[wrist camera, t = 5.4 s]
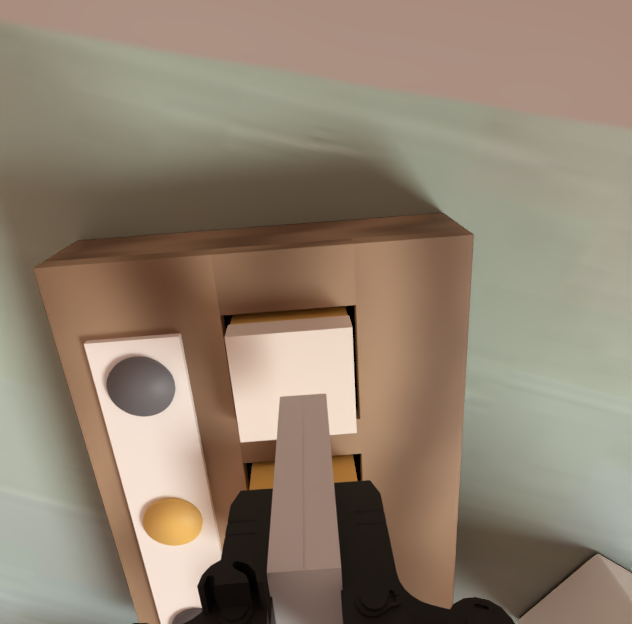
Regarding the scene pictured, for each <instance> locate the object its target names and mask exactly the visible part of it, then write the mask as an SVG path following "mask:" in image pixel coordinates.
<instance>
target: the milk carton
mask: <svg viewBox="0 0 632 624" xmlns="http://www.w3.org/2000/svg"><path fill="white" fill-rule="evenodd" d="M519 624H632V573H631V572H629V571H627V570H626V569H624V568H622V567H620V566H619V565H617V564H615V563H613V562H612V561H610V560H608V559H607V558H605V557H603V556H601V555H599V554H596V555H595V556H593V557H592V558H591V559H590V560H589V561H587V562H586V563H585V564H584V565H583V566H581V567H580V568H579V569H578V570H577V571H575V572H574V573H573V574H572V575H571V576H570V577H568V578H567V579H566V580H565V581H564V582H562V583H561V584H560V585H559V586H558V587H557V588H555V589H554V590H553V591H552V592H551V593H549V594H548V595H547V596H546V597H545V598H544V599H542V600H541V601H540V602H539V603H538V604H536V605H535V606H534V607H533V608H532V609H531V610H529V611H528V612H527V613H526V614H525V615H523V616H522V617H521V618H520V619H519Z"/></svg>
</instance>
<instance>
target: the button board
mask: <svg viewBox="0 0 632 624" xmlns="http://www.w3.org/2000/svg"><path fill="white" fill-rule="evenodd" d="M473 239H474V235H473V234H472V233H471V232H469V231H468V230H466V229H465V228H464V227H462V226H461V225H459V224H458V223H457V222H455V221H454V220H452V219H451V218H450V217H448V216H447V215H445V214H444V213H435V214H422V215H409V216H395V217H382V218H369V219H356V220H343V221H329V222H316V223H303V224H290V225H277V226H263V227H250V228H237V229H224V230H210V231H197V232H184V233H171V234H158V235H144V236H131V237H118V238H105V239H91V240H78V241H76V242H74V243H73V244H71V245H70V246H68V247H66V248H65V249H63V250H62V251H60V252H58V253H57V254H55V255H54V256H52V257H50V258H49V259H47V260H46V261H44V262H42V263H41V264H39V265H38V266H36V267H34V268H33V270H34V274H35V277H36V280H37V284H38V287H39V290H40V294H41V297H42V300H43V304H44V307H45V310H46V314H47V317H48V320H49V324H50V327H51V330H52V334H53V337H54V340H55V344H56V347H57V350H58V354H59V357H60V360H61V364H62V367H63V370H64V374H65V377H66V380H67V384H68V387H69V390H70V394H71V397H72V400H73V404H74V407H75V410H76V414H77V417H78V420H79V424H80V427H81V430H82V434H83V437H84V440H85V444H86V447H87V450H88V454H89V457H90V460H91V464H92V467H93V470H94V474H95V477H96V480H97V484H98V487H99V490H100V494H101V497H102V500H103V504H104V507H105V510H106V514H107V517H108V520H109V524H110V527H111V530H112V534H113V537H114V540H115V544H116V547H117V550H118V554H119V557H120V560H121V564H122V567H123V570H124V574H125V577H126V580H127V584H128V587H129V590H130V594H131V597H132V600H133V604H134V607H135V610H136V614H137V617H138V620H139V623H148V624H161V623H160V619H159V615H158V612H157V608H156V605H155V601H154V597H153V594H152V590H151V586H150V583H149V579H148V576H147V572H146V568H145V565H144V561H143V557H142V554H141V550H140V546H139V543H138V539H137V536H136V532H135V528H134V525H133V521H132V517H131V514H130V510H129V507H128V503H127V499H126V496H125V492H124V488H123V485H122V481H121V478H120V474H119V470H118V467H117V463H116V459H115V456H114V452H113V448H112V445H111V441H110V438H109V434H108V430H107V427H106V423H105V419H104V416H103V412H102V409H101V405H100V401H99V398H98V394H97V390H96V387H95V383H94V380H93V376H92V372H91V369H90V365H89V361H88V358H87V354H86V351H85V347H84V343H85V342H86V341H87V340H100V339H113V338H126V337H138V336H151V335H164V334H177V333H181V338H182V343H183V348H184V354H185V359H186V364H187V369H188V375H189V380H190V385H191V391H192V396H193V401H194V406H195V412H196V417H197V422H198V427H199V433H200V438H201V443H202V448H203V454H204V459H205V464H206V470H207V475H208V480H209V485H210V491H211V496H212V501H213V506H214V512H215V517H216V522H217V528H218V533H219V538H220V543H221V549H222V550H223V544H224V539H225V533H226V528H227V525H228V516H229V511H230V505H231V504H232V502H233V501H234V500H235V498H236V497H237V495H238V494H239V492H240V491H243V490H249V488H250V486H249V479H248V473H247V466H246V463H252V462H264V461H275V455H276V442H277V440H265V441H253V442H240V436H239V429H238V423H237V416H236V410H235V403H234V397H233V390H232V383H231V377H230V370H229V364H228V357H227V351H226V344H225V338H224V337H225V334H226V326H225V320H224V315H234V314H247V313H260V312H273V311H286V310H298V309H311V308H324V307H337V306H350V305H354V319H355V344H356V369H357V394H358V408H356V425H357V433H351V434H339V435H330V443H331V455H332V456H337V455H349V454H360V469H361V481H365V480H370V481H371V482H372V483H373V484H374V486H375V487H376V488H377V490H378V491H379V492H380V493H381V498H382V503H383V508H384V513H385V518H386V523H387V527H388V532H389V537H390V542H391V547H392V552H393V557H394V562H395V566H396V571H397V575H398V578H399V581H400V582H401V584H402V585H403V587H404V588H405V590H406V591H408V592H409V593H410V594H411V595H412V596H413V597H415V598H417V599H418V600H420V601H422V602H425V603H427V604H430V605H434V606H438V607H442V608H446V609H451V607H452V606H453V590H454V572H455V555H456V537H457V520H458V502H459V485H460V467H461V449H462V432H463V414H464V397H465V379H466V362H467V344H468V327H469V309H470V292H471V274H472V257H473Z"/></svg>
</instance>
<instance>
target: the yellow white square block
mask: <svg viewBox="0 0 632 624" xmlns="http://www.w3.org/2000/svg"><path fill="white" fill-rule="evenodd" d="M224 338H225V344H226V351H227V357H228V364H229V370H230V377H231V383H232V390H233V397H234V403H235V410H236V416H237V423H238V429H239V436H240V442H253V441H265V440H277V428H278V415H279V402H280V397H283V396H297V395H311V394H325V393H326V397H327V409H328V420H329V432H330V435H339V434H351V433H357V425H356V401H355V378H354V354H353V330H352V324H351V320H350V317H349V315H347V311H346V307H345V306H337V307H324V308H311V309H298V310H286V311H273V312H260V313H247V314H234V315H233V316H232V319H231V323H230V325H228V327H227V330H226V334H225V337H224Z"/></svg>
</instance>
